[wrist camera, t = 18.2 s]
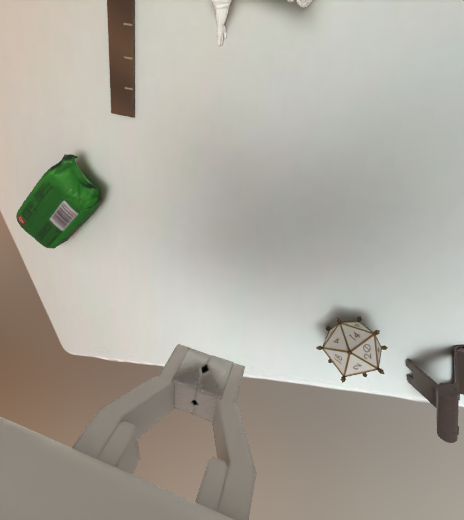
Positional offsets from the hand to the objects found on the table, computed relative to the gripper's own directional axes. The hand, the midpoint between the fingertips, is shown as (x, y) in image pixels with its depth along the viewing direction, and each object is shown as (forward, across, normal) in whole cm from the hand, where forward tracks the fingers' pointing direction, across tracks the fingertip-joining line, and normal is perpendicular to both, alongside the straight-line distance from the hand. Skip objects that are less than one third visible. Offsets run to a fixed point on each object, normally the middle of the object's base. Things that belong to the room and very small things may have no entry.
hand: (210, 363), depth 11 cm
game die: (+26, -15, +19) cm, 35 cm away
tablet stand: (+26, -29, +22) cm, 45 cm away
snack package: (+24, +31, +8) cm, 40 cm away
